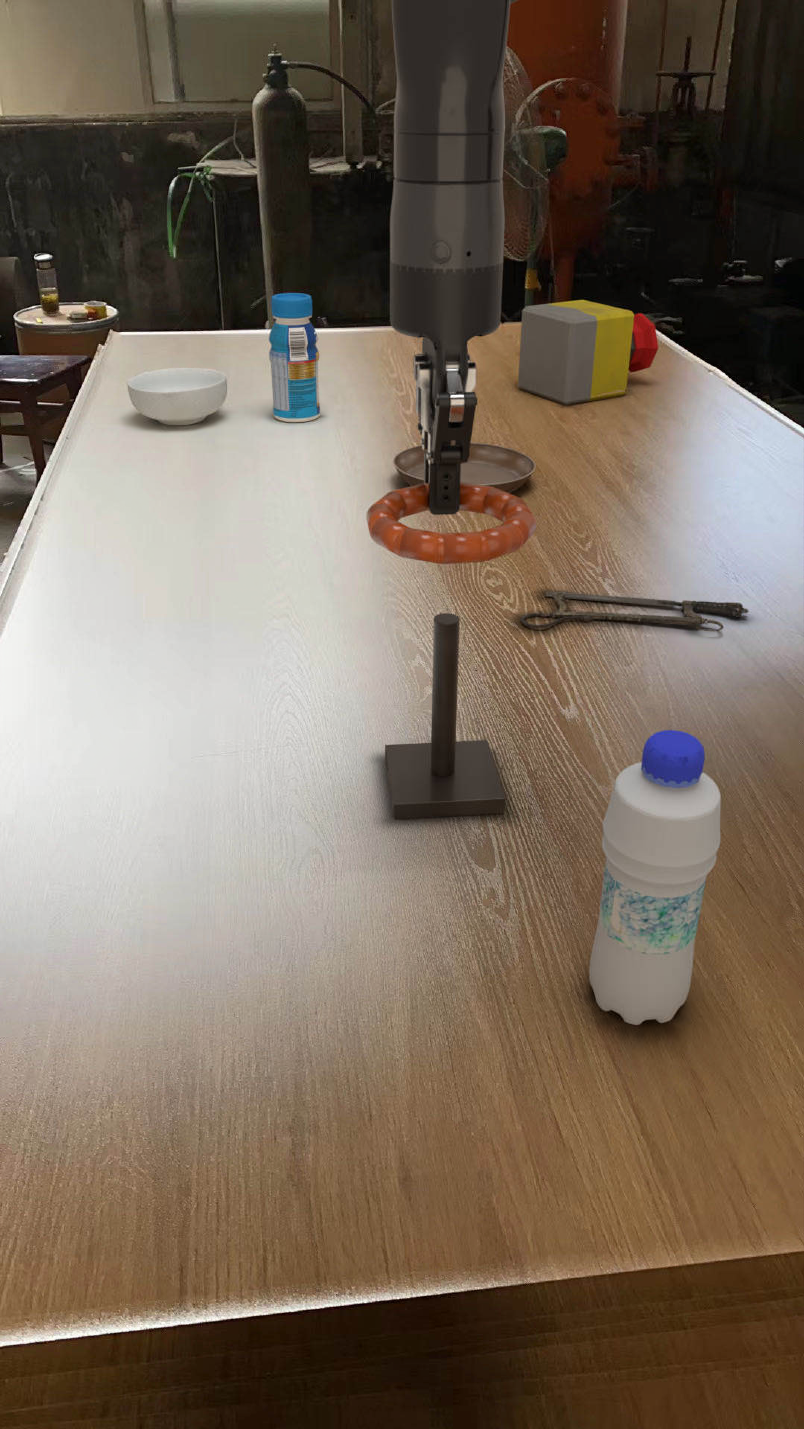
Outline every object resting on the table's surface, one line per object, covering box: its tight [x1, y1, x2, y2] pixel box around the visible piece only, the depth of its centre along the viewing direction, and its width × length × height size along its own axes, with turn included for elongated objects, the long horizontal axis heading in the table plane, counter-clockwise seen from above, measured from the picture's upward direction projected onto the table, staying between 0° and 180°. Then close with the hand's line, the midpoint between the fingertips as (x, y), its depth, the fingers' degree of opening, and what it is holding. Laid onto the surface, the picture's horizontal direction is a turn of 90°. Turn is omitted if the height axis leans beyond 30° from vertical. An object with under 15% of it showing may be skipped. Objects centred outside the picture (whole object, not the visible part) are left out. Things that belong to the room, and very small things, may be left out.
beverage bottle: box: [268, 292, 321, 423], centre depth 185 cm, size 8×8×20 cm
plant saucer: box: [392, 442, 537, 494], centre depth 159 cm, size 21×21×3 cm
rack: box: [384, 612, 506, 820], centre depth 88 cm, size 9×9×16 cm
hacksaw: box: [520, 590, 750, 632], centre depth 119 cm, size 24×10×2 cm, turn 76°
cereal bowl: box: [126, 367, 228, 426], centre depth 187 cm, size 17×17×7 cm
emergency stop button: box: [517, 299, 659, 406], centre depth 204 cm, size 15×24×15 cm, turn 122°
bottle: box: [588, 729, 722, 1026], centre depth 65 cm, size 7×7×20 cm
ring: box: [365, 482, 537, 565], centre depth 76 cm, size 12×12×2 cm
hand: (441, 505), depth 81 cm, fingers closed on ring, 2 cm apart
